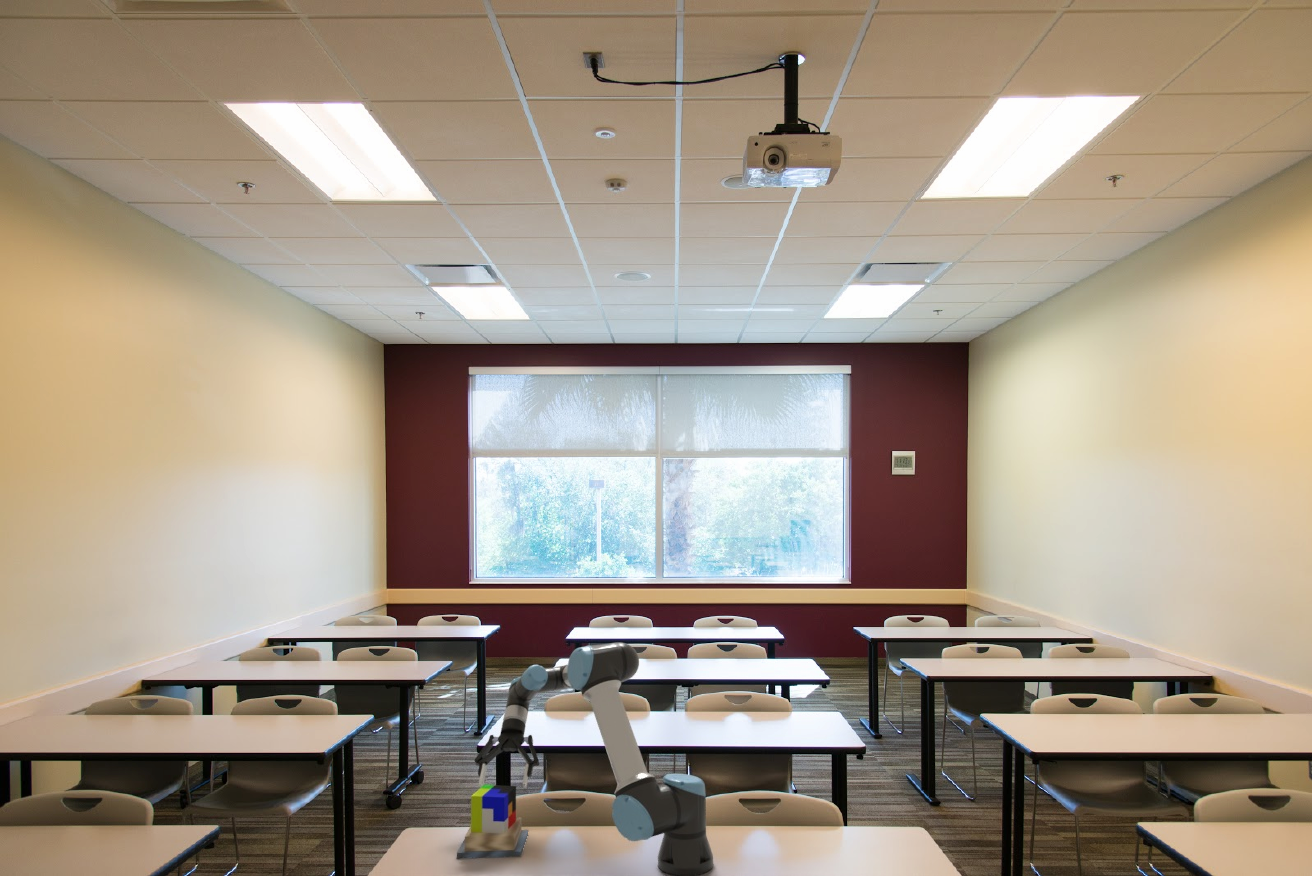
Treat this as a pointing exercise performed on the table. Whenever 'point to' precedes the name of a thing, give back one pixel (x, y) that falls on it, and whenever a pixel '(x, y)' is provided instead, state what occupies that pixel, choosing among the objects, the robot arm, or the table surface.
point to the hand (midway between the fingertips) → (502, 786)
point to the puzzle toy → (493, 809)
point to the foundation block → (494, 843)
